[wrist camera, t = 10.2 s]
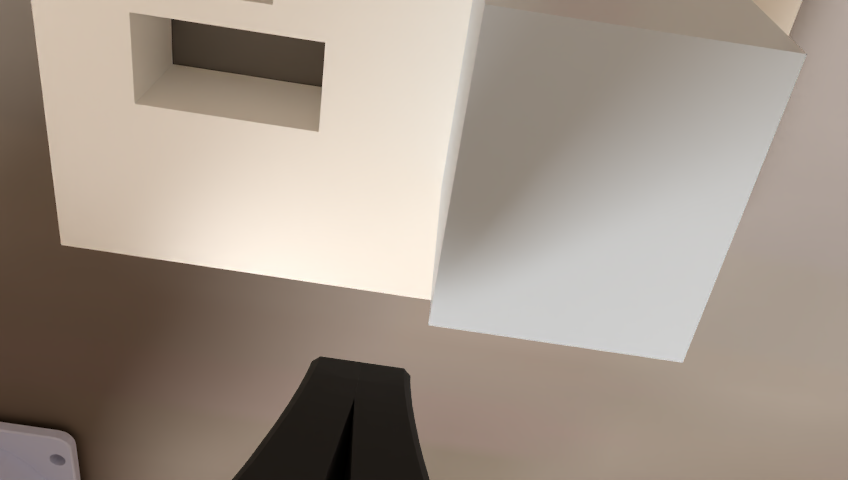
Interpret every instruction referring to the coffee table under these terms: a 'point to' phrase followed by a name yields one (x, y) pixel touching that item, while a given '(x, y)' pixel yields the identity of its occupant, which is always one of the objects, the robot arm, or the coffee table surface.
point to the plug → (603, 166)
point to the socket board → (260, 136)
